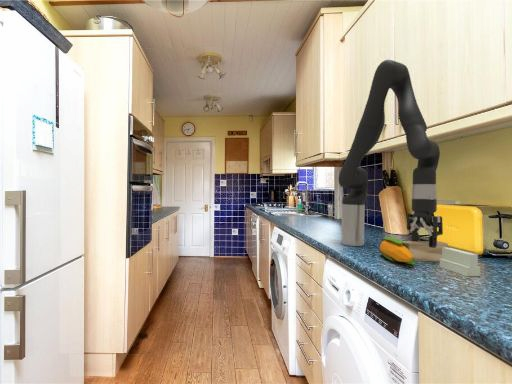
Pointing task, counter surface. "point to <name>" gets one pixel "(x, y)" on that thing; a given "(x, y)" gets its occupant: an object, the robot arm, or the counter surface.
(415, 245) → the oak bar
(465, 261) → the grey rectangular block
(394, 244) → the corn
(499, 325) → the counter surface
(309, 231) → the counter surface
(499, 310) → the counter surface
